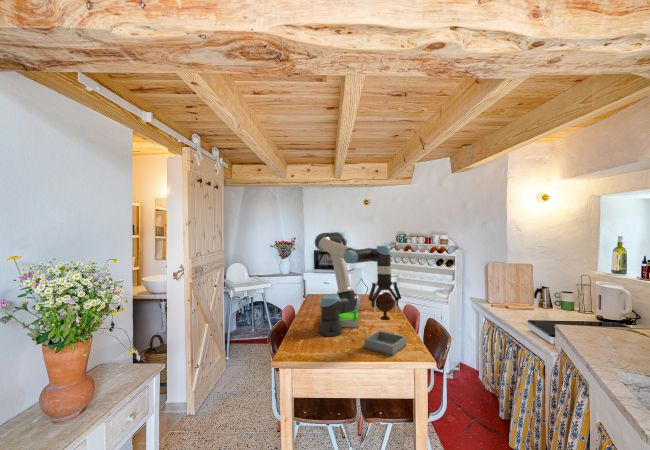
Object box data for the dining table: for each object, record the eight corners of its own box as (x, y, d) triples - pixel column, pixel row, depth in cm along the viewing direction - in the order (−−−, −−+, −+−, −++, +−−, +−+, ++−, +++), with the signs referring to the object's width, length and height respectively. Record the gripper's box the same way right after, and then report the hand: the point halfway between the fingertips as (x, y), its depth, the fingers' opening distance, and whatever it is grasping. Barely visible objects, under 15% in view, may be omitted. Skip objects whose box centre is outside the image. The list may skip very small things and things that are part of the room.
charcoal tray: (364, 348, 171) (364, 339, 171) (379, 339, 184) (379, 330, 184) (392, 356, 160) (392, 346, 160) (406, 345, 174) (406, 336, 174)
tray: (358, 317, 230) (358, 310, 230) (358, 328, 205) (358, 320, 205) (324, 316, 233) (324, 309, 233) (320, 327, 208) (320, 320, 208)
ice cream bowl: (395, 316, 178) (394, 290, 178) (394, 322, 168) (393, 294, 168) (376, 315, 181) (376, 289, 181) (374, 321, 170) (374, 293, 170)
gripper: (365, 275, 169) (366, 315, 169) (406, 273, 172) (407, 312, 172) (361, 273, 177) (362, 311, 176) (401, 271, 180) (402, 309, 180)
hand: (385, 312), depth 174 cm, fingers closed on ice cream bowl, 11 cm apart
